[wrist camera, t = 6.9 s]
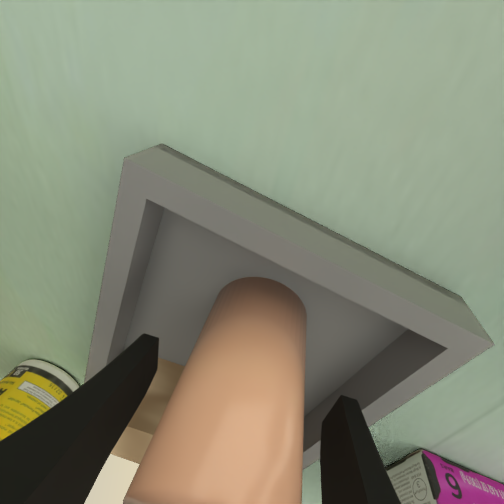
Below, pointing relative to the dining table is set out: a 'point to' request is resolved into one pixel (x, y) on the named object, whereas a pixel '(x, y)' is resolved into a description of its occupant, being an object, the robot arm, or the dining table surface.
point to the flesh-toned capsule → (234, 407)
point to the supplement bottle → (31, 393)
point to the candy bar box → (441, 482)
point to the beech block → (148, 413)
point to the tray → (278, 269)
